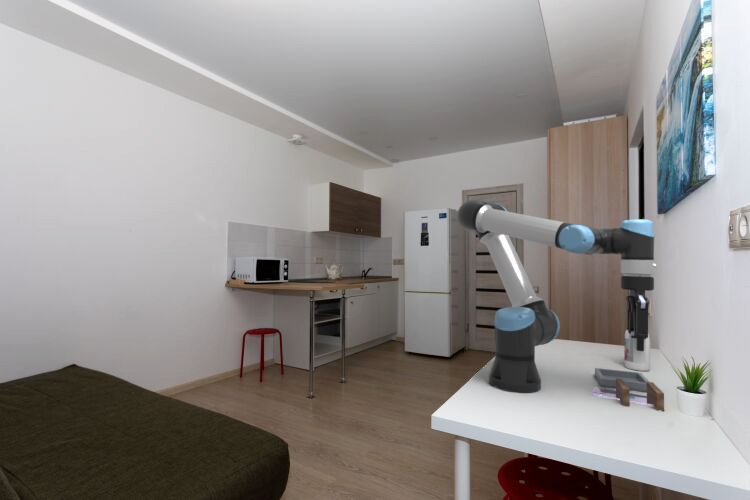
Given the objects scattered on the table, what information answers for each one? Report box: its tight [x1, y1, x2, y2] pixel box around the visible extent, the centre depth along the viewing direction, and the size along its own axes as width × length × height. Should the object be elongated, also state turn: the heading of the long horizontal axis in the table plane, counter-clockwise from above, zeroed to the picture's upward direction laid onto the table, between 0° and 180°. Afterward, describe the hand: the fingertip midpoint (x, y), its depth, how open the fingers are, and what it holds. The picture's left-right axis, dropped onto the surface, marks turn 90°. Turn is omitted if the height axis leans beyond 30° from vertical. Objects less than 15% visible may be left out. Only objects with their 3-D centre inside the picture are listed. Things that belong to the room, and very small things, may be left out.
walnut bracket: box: [615, 378, 665, 412], centre depth 103 cm, size 9×10×4 cm
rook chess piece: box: [627, 331, 636, 363], centre depth 104 cm, size 4×4×8 cm
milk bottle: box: [623, 328, 651, 372], centre depth 137 cm, size 8×8×20 cm
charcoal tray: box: [594, 367, 650, 393], centre depth 119 cm, size 13×13×2 cm
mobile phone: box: [590, 386, 654, 407], centre depth 107 cm, size 8×1×15 cm
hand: (636, 360), depth 104 cm, fingers closed on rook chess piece, 4 cm apart
